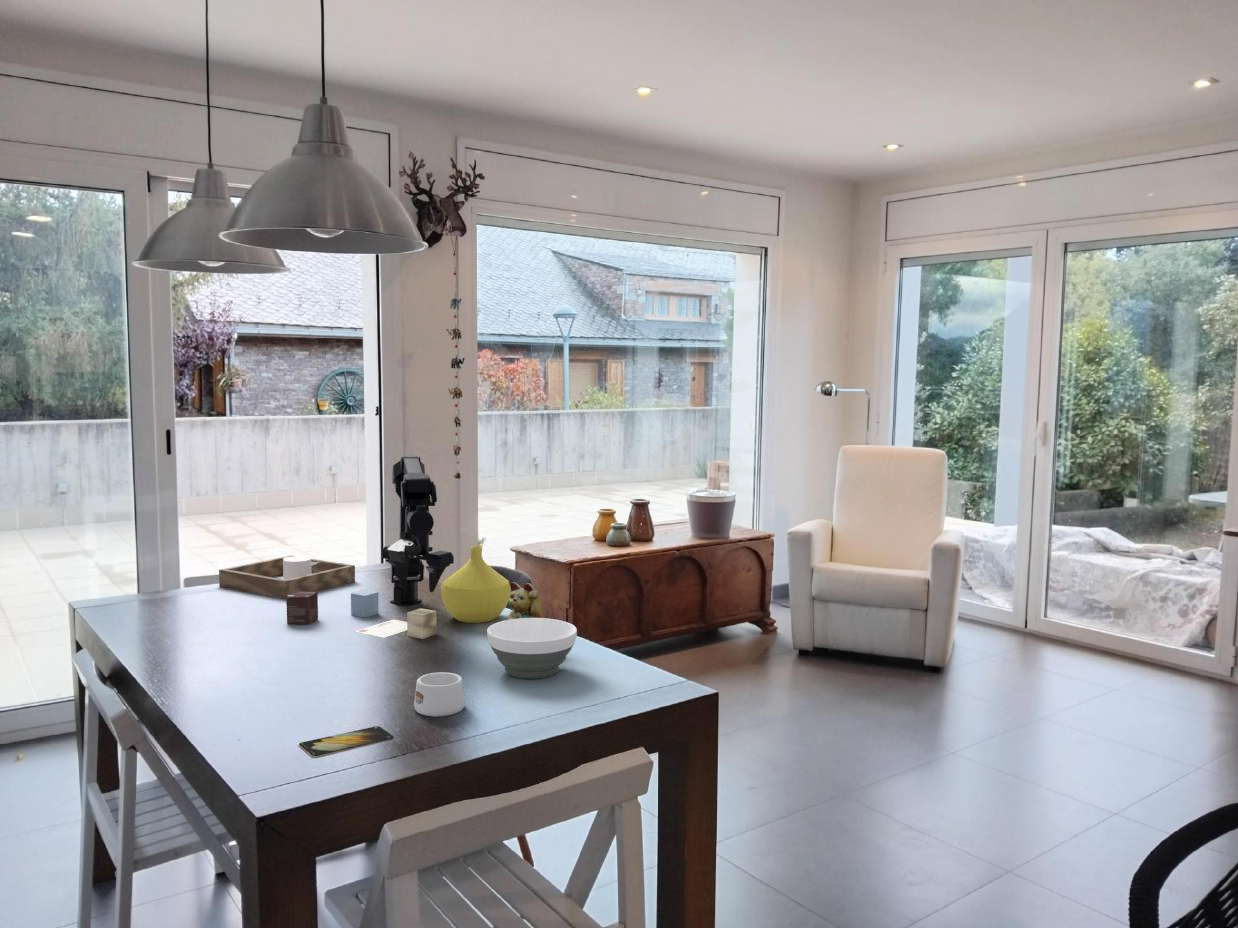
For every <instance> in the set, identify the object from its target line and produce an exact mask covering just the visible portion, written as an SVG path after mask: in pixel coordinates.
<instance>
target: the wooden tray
mask: <svg viewBox="0 0 1238 928" xmlns="http://www.w3.org/2000/svg"><path fill="white" fill-rule="evenodd" d="M294 556H295V555H287V556H282V557H277V558H272V559H267V560H260V561H256V562H252V563H246V564H241V565H237V566H231V567H226V568H222V569H218V579H219V583H218V584H219V585H218V586H219V587H220V588H225V589H232V590H236V591H243V592H248V593H253V594H259V595H263V596H269V597H273V598H279V599H283V600H284V599H285V600H286V597H287V596H288V595H290V594H292V593H294V592H296V591H301V592H318V591H322V590H325V589H326V590H327V589H331V588H334V587H339V586H342V585H347V584H351V583H354V582H356V565H355V564H349V563H342V562H335V561H328V560H321V559H316V558H311V562H318V561H319V562H321V563H317V564H315V565H313V566H311V574H309V575H305V576H300V577H296V578H291V579H287V580H284V579H283V578H278V577H277V578H276V577H274V576H279V575H283V559H284V558H287V557H294Z"/></svg>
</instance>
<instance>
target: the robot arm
mask: <svg viewBox="0 0 1238 928" xmlns="http://www.w3.org/2000/svg"><path fill="white" fill-rule="evenodd" d="M425 467H426V465H425V464H424V463H423V462H421V456H419V455H403V456H400V460H398V461H397V462H395V463H394V464H393V465H392V469H391V470H392V471H391V483H392V484H393V487H394V490H395V493H396V495H397V497H398V498H399V540H397V541H395V542H394V543H393V544H391V545H386V546H384V547H383V548H382V550H381V559H385V562H386V563H389V564H390V570H389V573H390V574H389V578H390V582H391V583H390V584H394V585H393V599H392V600H390V601H389V603H391V604H395V605H400V606H405V607H406V606H411V605H413V604H418V603H420V602H422V601H423V599H421V598H419V597H418V596H419V592H418V591H419V590H418V589H419V586H418V584H419V583H418V582H422V581H424V580H425V579H424V575H425V569H426V570H427V571H428V588H429V592H430V593H433V592H435V589H436V588H437V585H438V583H439V581H440V579H441V577H442V575H443V573H444V572H445V570H446V568H447V567H450V565H452V564H454V561H455V560H454V554H453V553H452V552H451V551H445V550H438V551H434V552H433V546H430V536H433V534H434V533H433V531H434V530H432V529H433V527H434V526H435V525H434V523H435V522H434V521H435V520H434V517H433V516H432V514H431V513H430V508H429V507H435V506H436V503H437V502H438V501H437V500H438V498H437V497H438V496H437V489H436V488H437V487H436V484H435V482H434V481H433V480H432V479H431V477H430V475H429V474H427V473H426V470H425V469H426V468H425ZM423 561H425V563H426V564H427V566H425V565H424V564H423V563H424V562H423Z"/></svg>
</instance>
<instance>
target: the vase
mask: <svg viewBox="0 0 1238 928" xmlns="http://www.w3.org/2000/svg"><path fill="white" fill-rule="evenodd" d="M482 548H483V547H482V546H479V545H477V546H475V545H474V546H470V555H469V556H470V557H469V560H467V562H466V563H465V564H464V565H463V566H462V567H461V568H459V569H457V570H456V571H455V572H454V573H453V574H451V575H450V576H449V577H447V578H446V579H444V581H442V583H441V586H440V596H441V600H442V602H443V605H444V608H445V610H446V611H448V613H449V615H450V616H451V617H453V618H454V619H456V620H457V621H459V622H462V623H468V624H480V623H481V624H482V623H488V622H491V621H494V620H496V619H497V618H498V617H499V616H500V615H501V614H502V613H503V612H504V610H505V609H506V607H507V606H508V604H509V602H508V599H509V596H510V594H511V592H512V590H511V587H510V581H509V580H508V579H507V578H506V577H504V576H503V575H501V573H499V572H497V571H496V570H495V569H494V568H492V567H491V566H490V565H489V564H487V563H486V562H485V560H484V559H483V553H482V552H483V549H482Z"/></svg>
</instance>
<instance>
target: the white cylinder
mask: <svg viewBox="0 0 1238 928" xmlns="http://www.w3.org/2000/svg"><path fill="white" fill-rule="evenodd" d="M293 556H294V557H287V558H284V559H283V574H282V577H283V578H282V579H284V580H287V579H291V578H296V577H300V576H305V575H309V574H311V566H313V565H315V564H317V563H321V562H319V561H318V562H311V559H312V557H311V556H306V555H305V556H304V555H303V556H301V555H300V556H298V555H297V556H296V555H293Z"/></svg>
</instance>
